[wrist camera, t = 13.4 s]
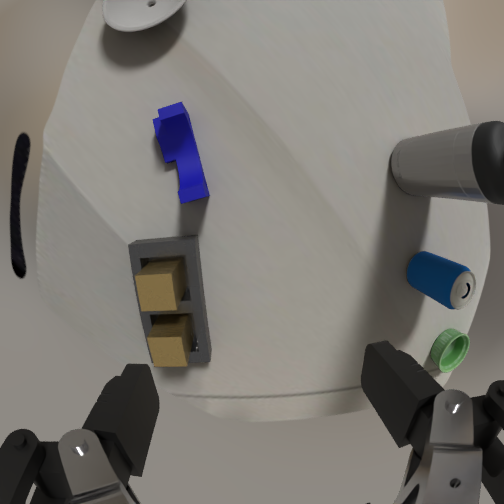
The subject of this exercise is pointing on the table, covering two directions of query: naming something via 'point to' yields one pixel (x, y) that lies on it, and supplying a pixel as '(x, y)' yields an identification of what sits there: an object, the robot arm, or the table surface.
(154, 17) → the dish
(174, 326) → the wooden toy block
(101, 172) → the table surface
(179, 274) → the beige cube
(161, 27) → the table surface
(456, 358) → the ramekin
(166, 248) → the grey flat open box
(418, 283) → the beverage can
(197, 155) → the cable clip
